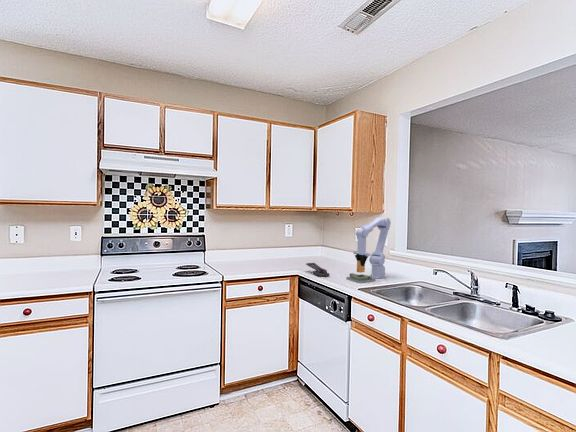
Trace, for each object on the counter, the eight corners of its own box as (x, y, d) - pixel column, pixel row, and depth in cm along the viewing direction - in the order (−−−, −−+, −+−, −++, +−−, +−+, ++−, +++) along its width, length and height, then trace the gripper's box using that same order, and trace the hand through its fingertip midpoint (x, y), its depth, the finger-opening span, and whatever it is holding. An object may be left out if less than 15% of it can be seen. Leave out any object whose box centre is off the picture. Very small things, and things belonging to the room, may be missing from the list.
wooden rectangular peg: (361, 271, 232) (361, 260, 232) (364, 272, 229) (364, 260, 229) (356, 271, 229) (357, 260, 229) (359, 272, 227) (360, 261, 227)
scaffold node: (358, 276, 242) (358, 271, 242) (375, 281, 227) (375, 275, 227) (343, 278, 235) (343, 272, 235) (360, 283, 220) (360, 277, 220)
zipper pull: (314, 262, 261) (331, 268, 239) (314, 270, 262) (331, 277, 239) (304, 263, 258) (320, 268, 235) (304, 271, 258) (320, 278, 235)
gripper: (350, 245, 233) (349, 264, 234) (364, 247, 221) (364, 267, 221) (357, 244, 237) (357, 263, 237) (372, 247, 224) (371, 266, 225)
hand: (361, 265), depth 229 cm, fingers closed on wooden rectangular peg, 3 cm apart
